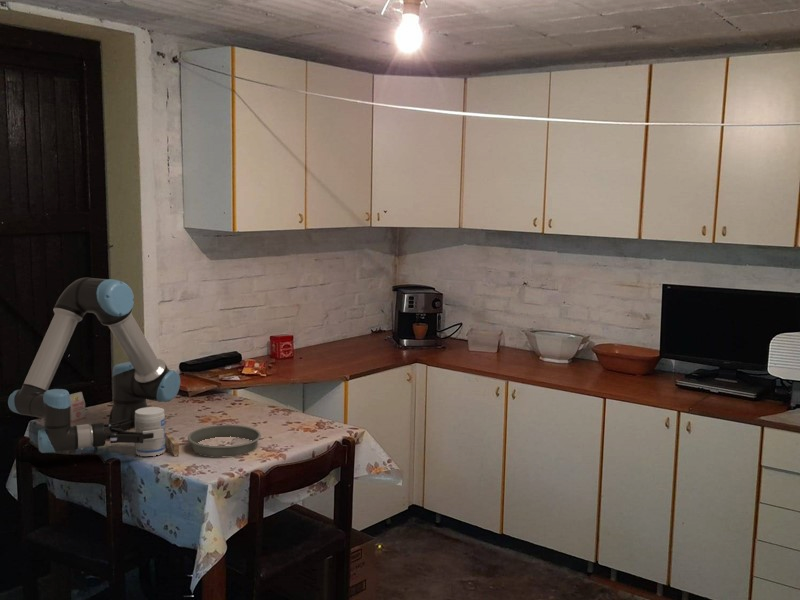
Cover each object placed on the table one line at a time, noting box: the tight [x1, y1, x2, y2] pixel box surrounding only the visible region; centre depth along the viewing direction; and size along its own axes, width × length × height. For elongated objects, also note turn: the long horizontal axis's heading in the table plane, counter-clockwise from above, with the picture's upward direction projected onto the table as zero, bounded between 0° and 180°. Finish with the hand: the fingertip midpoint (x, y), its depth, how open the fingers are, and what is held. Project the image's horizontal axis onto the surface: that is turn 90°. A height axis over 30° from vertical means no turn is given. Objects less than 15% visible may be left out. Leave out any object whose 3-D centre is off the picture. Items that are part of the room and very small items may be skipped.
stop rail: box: [165, 432, 180, 457], centre depth 261 cm, size 14×2×4 cm, turn 29°
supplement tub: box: [134, 406, 166, 457], centre depth 257 cm, size 10×10×15 cm
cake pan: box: [187, 424, 262, 458], centre depth 266 cm, size 25×25×4 cm
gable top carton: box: [69, 391, 87, 423], centre depth 293 cm, size 4×7×10 cm, turn 151°
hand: (159, 427), depth 258 cm, fingers open, 13 cm apart
